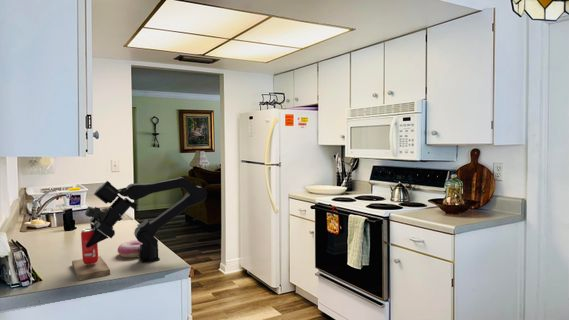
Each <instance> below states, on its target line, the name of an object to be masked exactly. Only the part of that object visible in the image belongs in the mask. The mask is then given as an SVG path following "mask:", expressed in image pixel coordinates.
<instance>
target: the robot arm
mask: <svg viewBox="0 0 569 320" xmlns="http://www.w3.org/2000/svg"><path fill="white" fill-rule="evenodd" d="M180 188H181V189H182V190H184V191H186V193H185V194H184V196H183V197H182V198H181V199H180V200H178V201H177V202H176V203H175V204H173V205H171V206H170V207H169V208H168V209H166V210H164V211H163V212H162V213H161V214H159V215H158V216H156V217H155V218H154V219H152V220H150V221H148V219H146V218H145V219H144V220H143V221H142V222H140V223H138V224H137V227H135V229H134V232H133V234H134V237H135V238H136V240H138V241H139V242H141V243H142V244H140V249H138V250H139V257H138V260H139V261H140V262H141V263H150V262H155V261H160V260H161V258H160V257H159V239H158V238H157V237H156V236H155V235H157V233H158V232H159V230H161V228H163V227H164V226H165V225H167V224H168V223H169V222H171V221H172V220H174V219H175V218H176V217H177V216H179V215H180V214H182V213H183V212H184V211H186V210H187V209H188V208H190V207H193V206H195V205H197V204H200V203H202V202H203V201H205V200H206V199H207V197H208V192H207V189H205V188H204V187H201V186H199V185H196V184H194V183H192V182H191V181H189V180H187V178H185V177H183V176H178V177H176V178H172V179H165V180H162V181H161V180H160V181H156V182H150V183H139V182H138V183H129V184H128V185H127V186H126V187H123V188H118V189H117V188H116V187H115V186H114V185H113V184H112V183H111V182H110V181H108V180H106V181H105V182H104V183H103V184H102V185H100V186H99V187H98V188H97V189H96V190H95V191H94V193H93V195H94V196H95V197H97V198H98V199H99V200H100V201H101V202H104V203H105V204H110V206H109V207H108V208H107V207H106V208H104V209H103V210H102V209H101V208H100V207H97V206H95V207H94V206H93V207H92V206H87V208H86V210H85V213H84V215H85V216H86V217H88V218H91V219H89V221H90V225H89V226H90V229H94V234H93V235H92V237H91V238H90V240H89V241H88V243H87V244H86V247H87V248H89V247H91V246H93V245H94V244H96V243H97V244H98V243H100V242H102V241H105V240H107V239H109V238H110V239H112V238H113V237H114V236H115V235H116V234H115V233H116V231H115V229H114V226H115V224H117V223H118V222H120V221H122V217H123V216H124V215H125V213H127V211H128V210H129V209H130V208H131V209H133V210H136V208H137V207H136V202H135V201H137V200H139V199H142V198H144V197H147V196H149V195H151V194H155V193H159V192H165V191H170V190H175V189H180ZM123 197H125V198H123ZM129 199H130V200H129ZM131 200H132V201H131Z"/></svg>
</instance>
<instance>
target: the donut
mask: <svg viewBox="0 0 569 320" xmlns="http://www.w3.org/2000/svg"><path fill="white" fill-rule="evenodd" d="M140 244H142V243H141V242H139V241H138V240H137V239H135V240H129V241H124V242H123V243H121V244H120V245H119V246H118V247H117V253H118V255H119V256H121V257H123V258H139V250H138V249H140Z"/></svg>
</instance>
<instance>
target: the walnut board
mask: <svg viewBox="0 0 569 320" xmlns="http://www.w3.org/2000/svg"><path fill="white" fill-rule="evenodd" d="M71 266H72V268H73V271H74V272H75V273H74V274H75V275H76V277H77V280H78V281H83V280H88V279H93V278H98V277H103V276H109V275H111V268H110V266H108V264H107V263H106V262H105V260H104V259H103V257H102V256H101V255H98V261H97V262H96V263H94V264H84V262H83V258H81V259H75V260H72V261H71Z"/></svg>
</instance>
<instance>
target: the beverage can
mask: <svg viewBox="0 0 569 320" xmlns="http://www.w3.org/2000/svg"><path fill="white" fill-rule="evenodd" d="M93 234H94V229H91V228H86V229H82V230H81V232H80V238H81V239H80V241H81V252H82V254H81V256H82V259H83V262H84V264H94V263H96V262H97V261H98V256H99V246H98V243H96V244H94V245H93V246H91V247H89V248H87V247H86V244H87V243H88V241H89V240H90V238H91V237H92V235H93Z"/></svg>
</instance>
